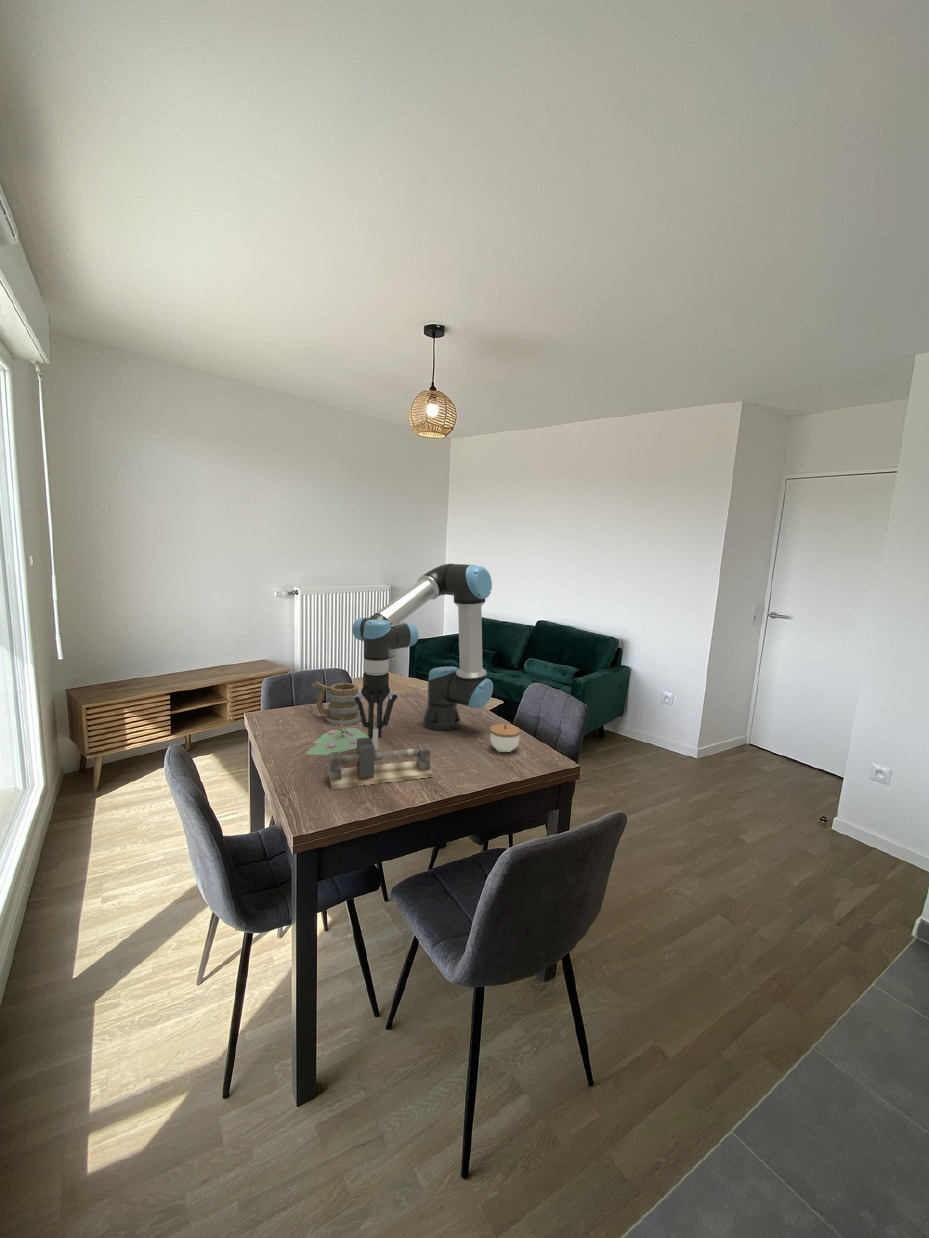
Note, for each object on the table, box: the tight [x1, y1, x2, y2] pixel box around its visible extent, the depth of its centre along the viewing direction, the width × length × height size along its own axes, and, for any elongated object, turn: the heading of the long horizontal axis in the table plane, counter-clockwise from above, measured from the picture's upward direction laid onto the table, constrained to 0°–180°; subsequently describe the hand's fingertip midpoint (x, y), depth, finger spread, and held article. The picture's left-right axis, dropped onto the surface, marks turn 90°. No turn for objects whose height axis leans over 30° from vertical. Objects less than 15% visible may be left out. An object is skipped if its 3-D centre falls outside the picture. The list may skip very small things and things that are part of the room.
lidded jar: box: [489, 723, 521, 753], centre depth 179 cm, size 11×11×9 cm
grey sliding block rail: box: [328, 743, 433, 790], centre depth 155 cm, size 30×10×8 cm, turn 110°
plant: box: [306, 716, 369, 756], centre depth 179 cm, size 25×21×9 cm
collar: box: [355, 737, 375, 778], centre depth 153 cm, size 4×8×9 cm, turn 20°
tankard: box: [311, 681, 361, 727], centre depth 203 cm, size 20×13×15 cm, turn 77°
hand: (374, 748), depth 153 cm, fingers closed
